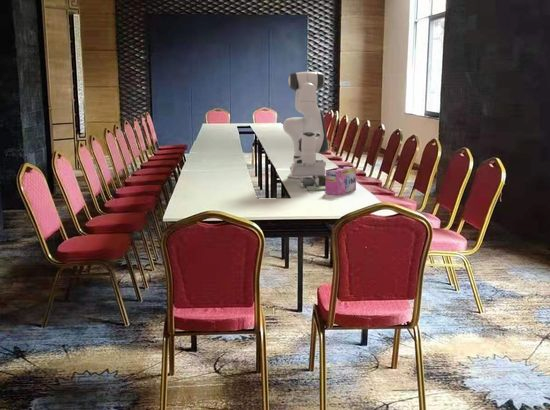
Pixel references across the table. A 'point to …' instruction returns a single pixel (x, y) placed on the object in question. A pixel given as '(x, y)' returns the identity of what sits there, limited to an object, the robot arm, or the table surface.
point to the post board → (312, 188)
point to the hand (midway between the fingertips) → (308, 183)
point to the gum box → (340, 180)
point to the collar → (308, 181)
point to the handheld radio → (321, 180)
